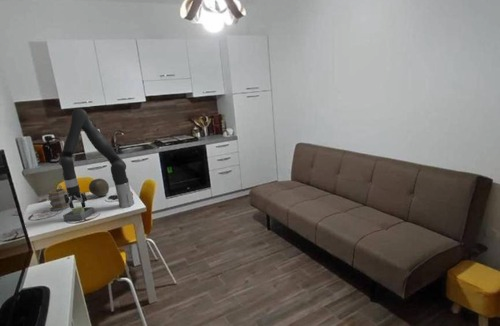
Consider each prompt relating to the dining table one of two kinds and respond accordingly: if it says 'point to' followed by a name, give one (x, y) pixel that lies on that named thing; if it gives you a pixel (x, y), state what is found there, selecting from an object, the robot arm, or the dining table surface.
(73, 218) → the bin
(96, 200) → the dining table surface
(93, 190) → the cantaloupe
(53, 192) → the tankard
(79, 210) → the olive block
